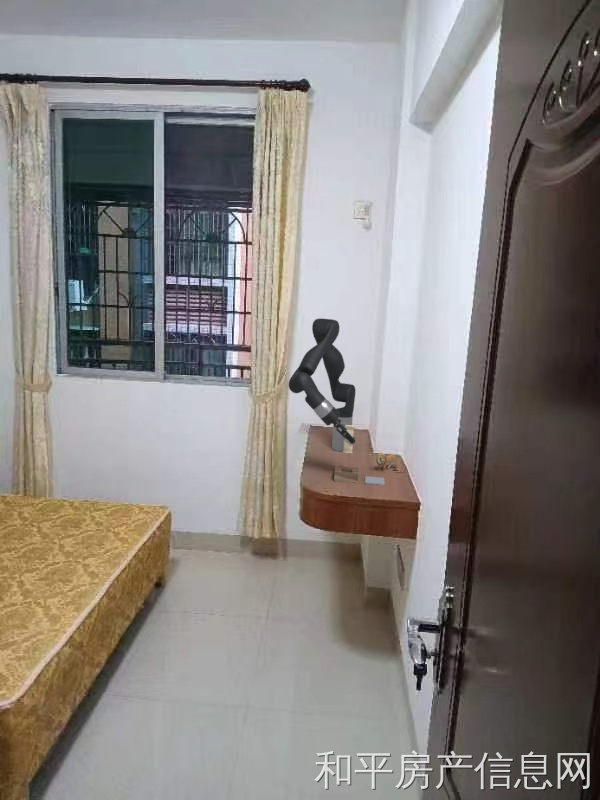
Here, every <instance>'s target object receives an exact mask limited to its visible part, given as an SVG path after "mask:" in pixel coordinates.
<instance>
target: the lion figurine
mask: <svg viewBox="0 0 600 800" xmlns="http://www.w3.org/2000/svg"><path fill="white" fill-rule="evenodd" d="M375 458H376V459H375V461H376V464H377V465H378V468H377V471H381V469H382V473H386V469H390V468H391V466H392V463H393V465H394V469H395V468H396V469H395V470H398V469H399V468H398V467H399V464H398V462H397V460H398V459H397V457H396V455H395V454H389V455H386V454H385V453H383V452H379V453H377V454H376V457H375ZM387 465H388V466H387ZM382 466H383V468H382ZM397 468H398V469H397Z"/></svg>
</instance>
